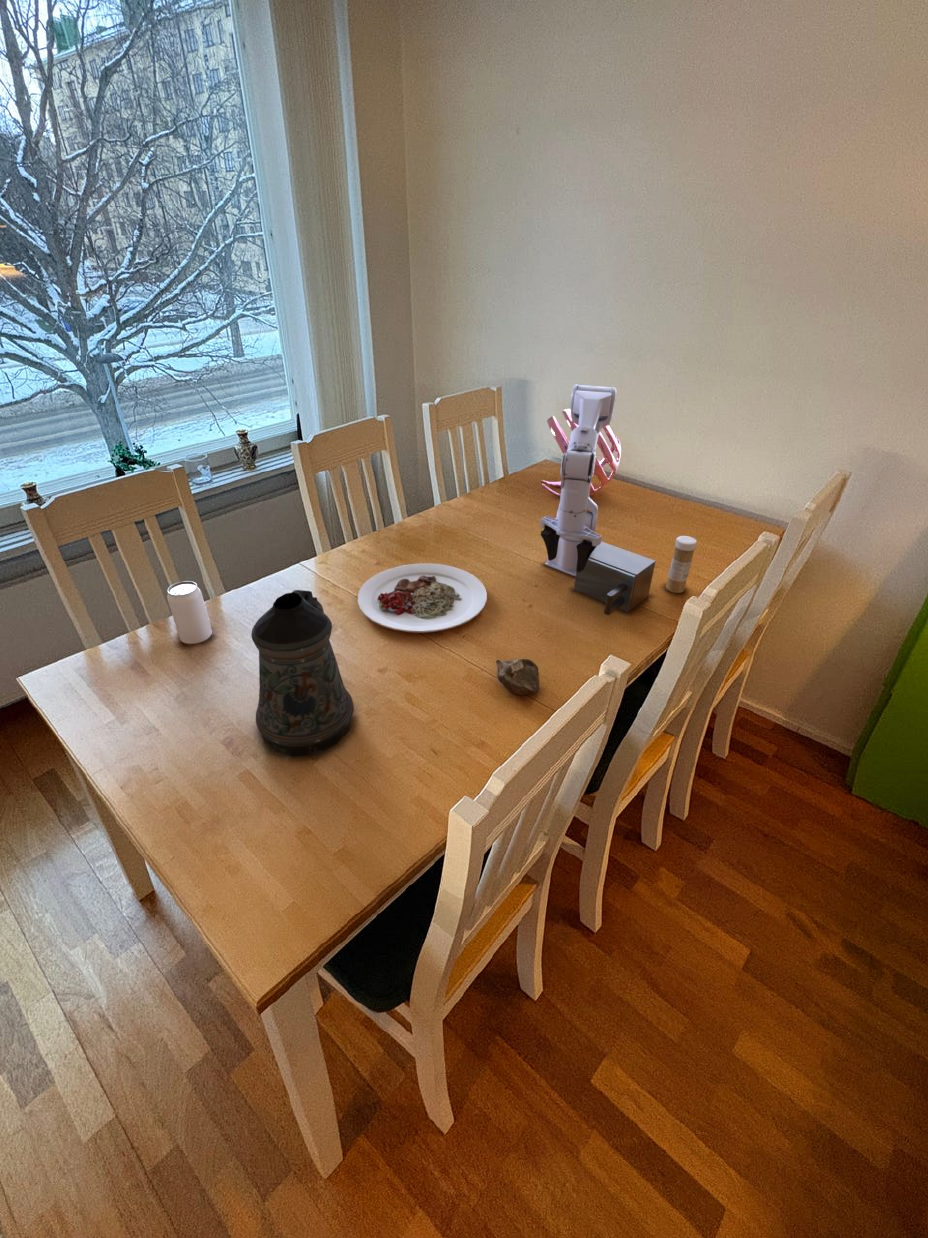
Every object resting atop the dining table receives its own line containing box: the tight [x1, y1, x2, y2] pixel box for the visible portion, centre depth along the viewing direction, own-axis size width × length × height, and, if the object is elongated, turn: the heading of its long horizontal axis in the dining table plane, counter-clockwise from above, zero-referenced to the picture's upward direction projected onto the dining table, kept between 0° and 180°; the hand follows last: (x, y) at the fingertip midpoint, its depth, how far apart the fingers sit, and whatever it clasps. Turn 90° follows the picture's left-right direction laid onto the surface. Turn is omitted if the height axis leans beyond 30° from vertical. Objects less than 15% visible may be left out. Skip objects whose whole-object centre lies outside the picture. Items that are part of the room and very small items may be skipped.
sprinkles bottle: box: [665, 535, 698, 594], centre depth 141 cm, size 5×5×14 cm
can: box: [166, 580, 213, 645], centre depth 123 cm, size 6×6×12 cm
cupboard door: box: [573, 558, 636, 616], centre depth 136 cm, size 8×15×9 cm, turn 48°
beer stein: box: [251, 589, 355, 757], centre depth 99 cm, size 16×19×25 cm
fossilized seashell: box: [495, 657, 540, 695], centre depth 113 cm, size 8×7×10 cm
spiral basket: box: [540, 408, 622, 498], centre depth 189 cm, size 28×28×27 cm
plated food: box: [357, 562, 488, 633], centre depth 138 cm, size 30×30×3 cm
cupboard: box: [589, 541, 657, 612], centre depth 141 cm, size 9×15×10 cm, turn 48°
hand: (566, 564), depth 133 cm, fingers open, 7 cm apart
